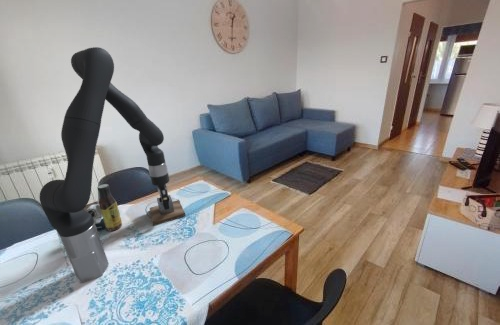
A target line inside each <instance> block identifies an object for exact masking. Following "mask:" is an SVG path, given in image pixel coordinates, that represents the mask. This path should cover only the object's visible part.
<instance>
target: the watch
mask: <svg viewBox="0 0 500 325" xmlns="http://www.w3.org/2000/svg"><path fill="white" fill-rule="evenodd" d="M85 211H87V212H88V213H90V214H91V215H92V217H93V220H94V223H95V226H96V228H97V231H105V230H106V229H107V228H106V226H105V223H104V220H103V216H102V213H101V209H100V205H99V204H98V203H97V204H91V205H89V206H88V208H87V209H86V210H85Z"/></svg>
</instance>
